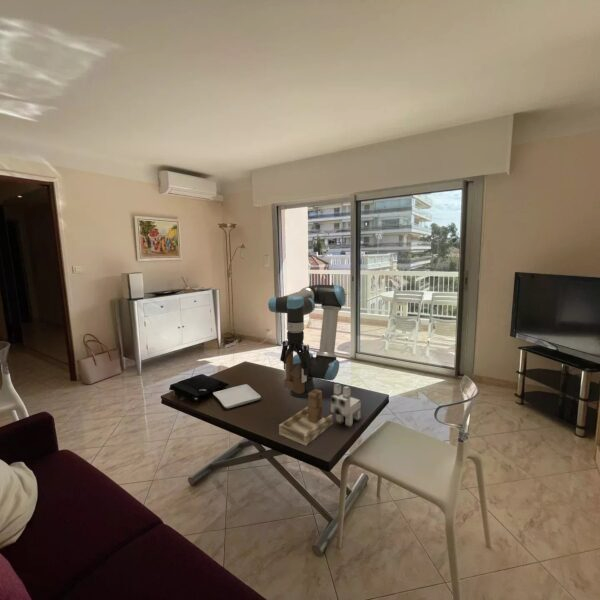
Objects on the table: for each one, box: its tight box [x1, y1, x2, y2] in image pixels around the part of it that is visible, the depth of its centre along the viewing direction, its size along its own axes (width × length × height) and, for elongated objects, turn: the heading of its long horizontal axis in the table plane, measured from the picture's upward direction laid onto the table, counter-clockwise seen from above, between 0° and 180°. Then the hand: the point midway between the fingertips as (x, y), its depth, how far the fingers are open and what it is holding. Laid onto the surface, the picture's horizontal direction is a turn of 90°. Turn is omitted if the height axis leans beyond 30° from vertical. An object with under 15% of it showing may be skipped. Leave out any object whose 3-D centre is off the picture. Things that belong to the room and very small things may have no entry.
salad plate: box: [212, 383, 262, 409], centre depth 180 cm, size 21×21×3 cm
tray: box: [278, 405, 334, 447], centre depth 148 cm, size 22×15×4 cm
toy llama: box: [330, 382, 362, 428], centre depth 153 cm, size 8×18×20 cm, turn 141°
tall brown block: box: [307, 388, 323, 423], centre depth 153 cm, size 6×4×14 cm, turn 143°
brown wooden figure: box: [283, 349, 305, 394], centre depth 145 cm, size 4×11×18 cm, turn 41°
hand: (295, 379), depth 145 cm, fingers open, 9 cm apart
